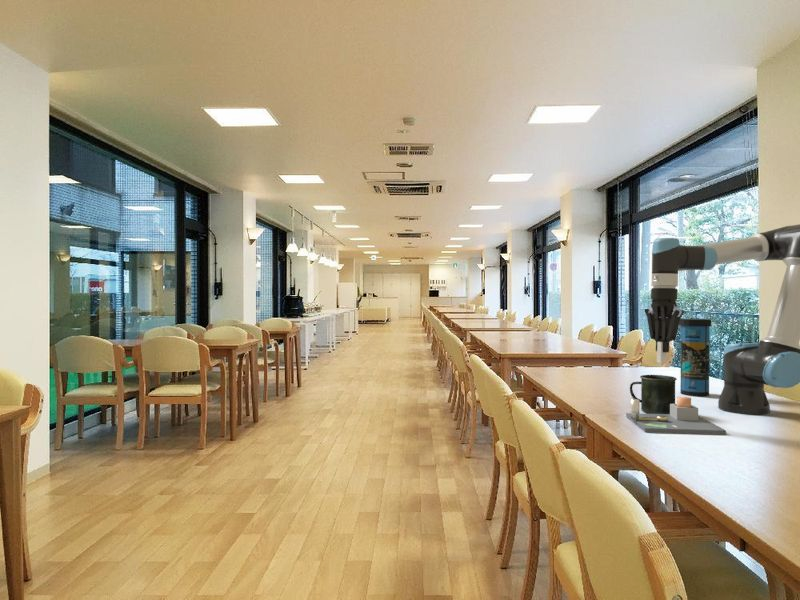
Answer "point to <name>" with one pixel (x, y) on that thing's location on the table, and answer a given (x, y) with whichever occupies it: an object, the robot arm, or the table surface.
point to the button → (684, 402)
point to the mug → (656, 393)
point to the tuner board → (678, 422)
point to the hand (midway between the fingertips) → (661, 362)
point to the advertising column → (695, 356)
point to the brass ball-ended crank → (636, 412)
